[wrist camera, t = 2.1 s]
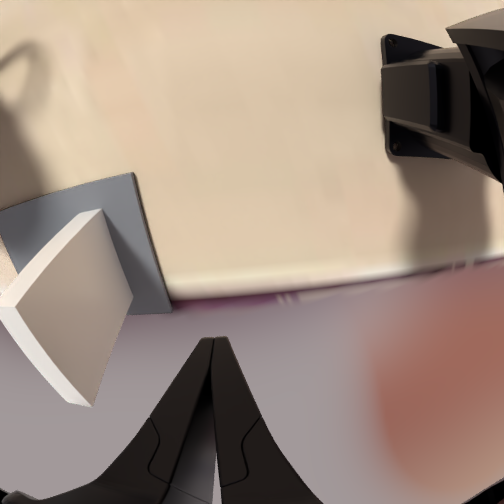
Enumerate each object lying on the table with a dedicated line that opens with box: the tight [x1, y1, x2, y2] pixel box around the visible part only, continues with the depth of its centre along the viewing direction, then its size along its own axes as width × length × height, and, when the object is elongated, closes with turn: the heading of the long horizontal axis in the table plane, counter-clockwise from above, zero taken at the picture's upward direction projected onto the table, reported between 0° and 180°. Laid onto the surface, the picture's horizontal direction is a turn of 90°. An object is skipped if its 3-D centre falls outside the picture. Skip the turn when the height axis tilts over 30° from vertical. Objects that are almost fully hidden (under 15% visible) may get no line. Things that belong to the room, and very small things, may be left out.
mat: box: [0, 172, 173, 315], centre depth 15 cm, size 12×9×1 cm
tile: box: [0, 208, 133, 407], centre depth 11 cm, size 2×6×8 cm, turn 5°
